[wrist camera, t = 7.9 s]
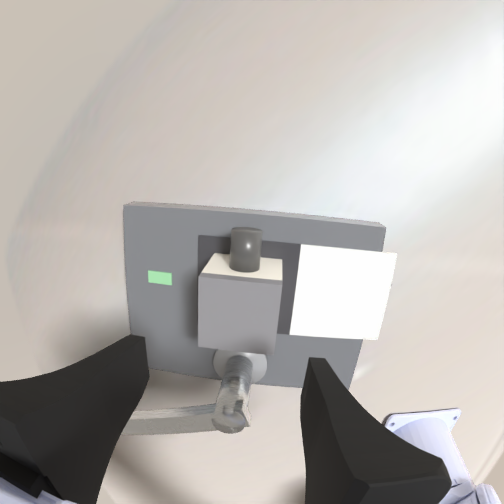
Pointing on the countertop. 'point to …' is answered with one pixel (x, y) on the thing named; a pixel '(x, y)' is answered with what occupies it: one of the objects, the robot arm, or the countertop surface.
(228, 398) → the orange-tipped grey rod
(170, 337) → the grey flat board
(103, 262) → the countertop surface
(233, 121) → the countertop surface
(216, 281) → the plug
